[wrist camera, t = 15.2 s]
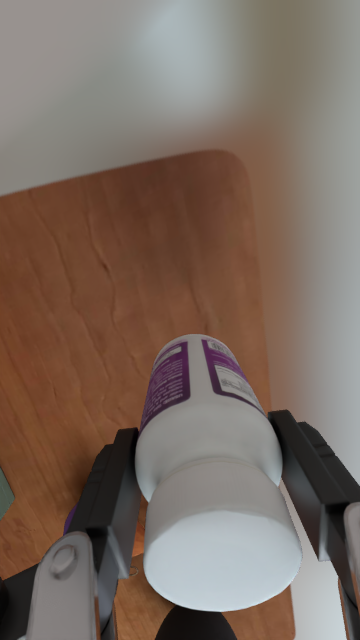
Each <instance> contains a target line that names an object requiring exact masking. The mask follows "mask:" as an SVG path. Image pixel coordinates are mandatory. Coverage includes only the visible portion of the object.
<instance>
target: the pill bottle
mask: <svg viewBox="0 0 360 640" xmlns="http://www.w3.org/2000/svg"><path fill="white" fill-rule="evenodd" d="M282 466H283V461H282V451H281V447H280V444H279V441H278V438H277V436H276V434H275V432H274V429H273V427H272V425H271V424H270V422H269V420H268V418H267V417H266V415H265V413H264V411H263V409H262V407H261V406H260V404H259V402H258V400H257V398H256V396H255V394H254V392H253V390H252V389H251V387H250V385H249V383H248V381H247V379H246V377H245V375H244V374H243V372H242V370H241V368H240V366H239V364H238V362H237V360H236V359H235V357H234V355H233V354H232V352H231V351H230V350H229V348H228V347H227V346H226V345H224V344H223V343H222V342H220V341H219V340H217V339H215V338H212V337H210V336H206V335H202V334H189V335H184V336H181V337H178V338H176V339H174V340H172V341H170V342H169V343H168V344H166V345H165V346H164V347H163V348H162V349H161V351H160V352H159V354H158V355H157V357H156V359H155V362H154V365H153V368H152V373H151V377H150V382H149V387H148V391H147V396H146V401H145V406H144V410H143V415H142V420H141V426H140V431H139V436H138V440H137V444H136V452H135V472H136V477H137V481H138V484H139V487H140V489H141V491H142V493H143V495H144V497H145V498H146V500H147V501H148V503H149V504H148V507H147V511H146V525H145V537H144V553H143V566H144V572H145V575H146V578H147V580H148V582H149V583H150V585H151V586H152V587H153V588H154V589H155V591H156V592H158V593H159V594H160V595H161V596H163V597H164V598H166V599H168V600H169V601H171V602H173V603H175V604H177V605H180V606H182V607H187V608H190V609H196V610H203V611H218V612H223V611H232V610H239V609H244V608H248V607H250V606H254V605H257V604H259V603H262V602H264V601H266V600H268V599H270V598H272V597H274V596H275V595H277V594H279V593H280V592H282V591H283V590H284V589H285V588H286V587H287V586H288V585H289V584H290V583H291V582H292V580H293V579H294V578H295V576H296V575H297V573H298V571H299V569H300V564H301V561H302V548H301V544H300V540H299V537H298V534H297V532H296V529H295V527H294V524H293V521H292V519H291V516H290V513H289V511H288V508H287V505H286V501H285V499H284V497H283V494H282V493H281V491H280V489H279V488H278V486H279V483H280V479H281V475H282Z"/></svg>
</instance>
